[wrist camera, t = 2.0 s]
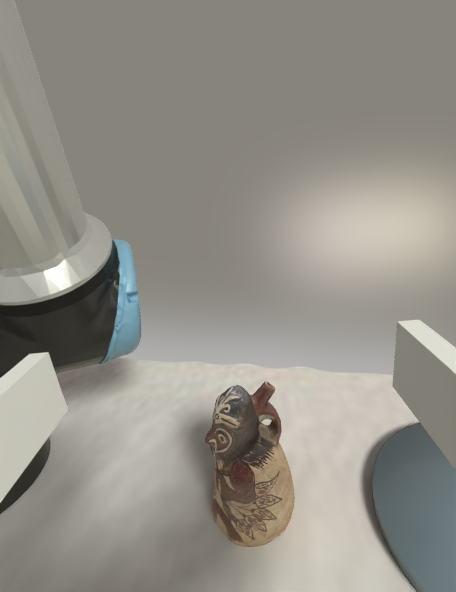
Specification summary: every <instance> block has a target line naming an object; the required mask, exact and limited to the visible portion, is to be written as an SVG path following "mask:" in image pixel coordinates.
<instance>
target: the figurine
mask: <svg viewBox="0 0 456 592" xmlns="http://www.w3.org/2000/svg"><path fill="white" fill-rule="evenodd" d="M274 391H275V387H274V386H272V385H271V384H270V383H269V382H264V383H263V384H262V386H261V387H260V388H259V389H258V390H257V391H256V392H255V393H254V394H253V395H249V394H248V392H247V391H246V390H245V389H244V388H243V387H241V386H238V385H236V386H233V387H230V388H229V389H227V390H226V391H225V392H224V393H223V394H221V395H219V396H218V398H217V400H216V404H215V408H214V413H213V425H212V429H211V430H210V431H209V433H208V434H207V436H206V440H205V442H206V443H208V444H210V447H211V450H212V453H213V456H214V458H215V471H214V484H213V516H214V522H215V523H216V524H217V525H218V526H219V527H220V528H221V530H222V532H223V533H225V534H226V535H227V536H228V538H229V539H230V540H231V541H233V542H234V543H235V544H237V545H240V546H246V547H251V546H260V545H264V544H266V543H268V542H270V541H272V540H273V539H274V538H275V537H277V536H279V535H280V534H281V533H282V532H283V531H284V530H285V529H286V527H287V525H288V523H289V521H290V519H291V515H292V511H293V507H294V487H293V481H292V476H291V472H290V468H289V465H288V462H287V459H286V457H285V454H284V452H283V449H282V447H281V445H280V443H279V438H280V435H281V420H280V418H279V416H278V413H277V411H276V409H275V408H274V407H273V406H272V405H271V404H270V403H269V402H268V401H269V399H270V398H271V396H272V394H273V393H274ZM264 419H271V420H272V422H271V423H270V425H268V426H267V425H264V424H262V423H261V422H262V421H263V420H264Z"/></svg>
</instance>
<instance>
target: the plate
mask: <svg viewBox="0 0 456 592" xmlns="http://www.w3.org/2000/svg"><path fill="white" fill-rule="evenodd" d="M372 491H373V503H374V508H375V513H376V517H377V520H378V523H379V526H380V529H381V532H382V534H383V536H384V538H385V541H386V543H387V545H388V547H389V549H390V551H391V553H392V554H393V556H394V558H395V559H396V561H397V563H398V565H399V566H400V568H401V570H402V571H403V572H404V574H405V575H406V577H407V578H408V579H409V581H410V582H411V583H412V585H413V586H414V588H415V589H416V590H417V592H456V470H455V469H454V467H453V466H452V465H451V463H450V462H449V461H448V459H447V458H446V457H445V455H444V454H443V453H442V451H441V450H440V449H439V447H438V446H437V445H436V443H435V442H434V441H433V439H432V438H431V437H430V435H429V434H428V433H427V431H426V430H425V429H424V427H423V426H422V425H421V423H417V424H414V425H411V426H408V427H406V428H404V429H402V430H400V431H399V432H397V433H396V434H394V435H393V436H392V437H390V438H389V439H388V441H387V442H386V443H385V444H384V445H383V446H382V448H381V450H380V452H379V453H378V455H377V459H376V462H375V465H374V472H373V483H372Z"/></svg>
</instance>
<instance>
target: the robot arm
mask: <svg viewBox="0 0 456 592" xmlns="http://www.w3.org/2000/svg"><path fill="white" fill-rule="evenodd" d="M137 295H138V292H137V280H136V273H135V266H134V260H133V255H132V251H131V247H130V245H129V243H127V242H126V241H119V240H116V239H114V240H112V239H111V235H110V233H109V231H108V229H107V227H106V226H105V225H104V224H103V223H102V222H101V221H100V220H98V219H97V218H95V217H93V216H91V215H89V214H87V213H84V211H83V208H82V205H81V202H80V199H79V196H78V193H77V190H76V187H75V184H74V181H73V178H72V174H71V172H70V168H69V165H68V162H67V159H66V156H65V153H64V150H63V147H62V144H61V141H60V138H59V135H58V132H57V129H56V126H55V123H54V120H53V117H52V114H51V111H50V107H49V104H48V101H47V98H46V95H45V92H44V89H43V86H42V83H41V80H40V77H39V74H38V71H37V68H36V65H35V62H34V59H33V56H32V53H31V49H30V46H29V43H28V40H27V38H26V34H25V31H24V28H23V25H22V22H21V19H20V16H19V13H18V10H17V7H16V4H15V1H14V0H0V513H1V512H3V511H4V510H5V509H6V508H7V507H9V506H10V505H11V504H12V503H13V502H14V501H15V500H17V499H18V498H19V497H20V496H21V495H22V494H23V493H24V492H25V491H26V490H27V488H28V487H29V486H30V485H31V484H32V483H33V481H34V480H35V479H36V477H37V476H38V475H39V473H40V472H41V470H42V468H43V467H44V465H45V463H46V460H47V458H48V455H49V450H50V442H49V438H48V437H49V436H50V435H51V433H52V432H53V430H54V429H55V428H56V426H57V425H58V424H59V422H60V421H61V420H62V418H63V417H64V415H65V414H66V413H67V411H68V408H67V405H66V402H65V399H64V396H63V393H62V391H61V388H60V385H59V382H58V379H57V376H56V373H58V372H62V371H67V370H71V369H75V368H80V367H84V366H89V365H93V364H98V363H99V364H102V363H105V362H107V361H108V360H109V359H113V358H116V357H120V356H123V355H126V354H129V353H131V352H133V351H134V350H135V349H136V348H137V346H138V344H139V342H140V338H141V319H140V308H139V300H138V297H137ZM393 387H394V389H395V390H396V391H397V393H398V394H399V395H400V397H401V398H402V399H403V401H404V402H405V403H406V405H407V406H408V407H409V409H410V410H411V411H412V413H413V414H414V415H415V417H416V418H417V419H418V421H419V422H420V423H421V425H422V426H423V427H424V429H425V430H426V431H427V433H428V434H429V435H430V437H431V438H432V439H433V441H434V442H435V443H436V445H437V446H438V447H439V449H440V450H441V451H442V453H443V454H444V455H445V457H446V458H447V459H448V461H449V462H450V463H451V465H452V466H453V467H454V469H455V470H456V348H455V347H454V346H452V345H451V344H450V343H448V342H447V341H446V340H445V339H444V338H442V337H441V336H439V335H438V334H437V333H436V332H434V331H433V330H432V329H431V328H429V327H428V326H427V325H425V324H424V323H423V322H421V321H420V320H410V321H399V322H397V332H396V346H395V360H394V374H393Z"/></svg>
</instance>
